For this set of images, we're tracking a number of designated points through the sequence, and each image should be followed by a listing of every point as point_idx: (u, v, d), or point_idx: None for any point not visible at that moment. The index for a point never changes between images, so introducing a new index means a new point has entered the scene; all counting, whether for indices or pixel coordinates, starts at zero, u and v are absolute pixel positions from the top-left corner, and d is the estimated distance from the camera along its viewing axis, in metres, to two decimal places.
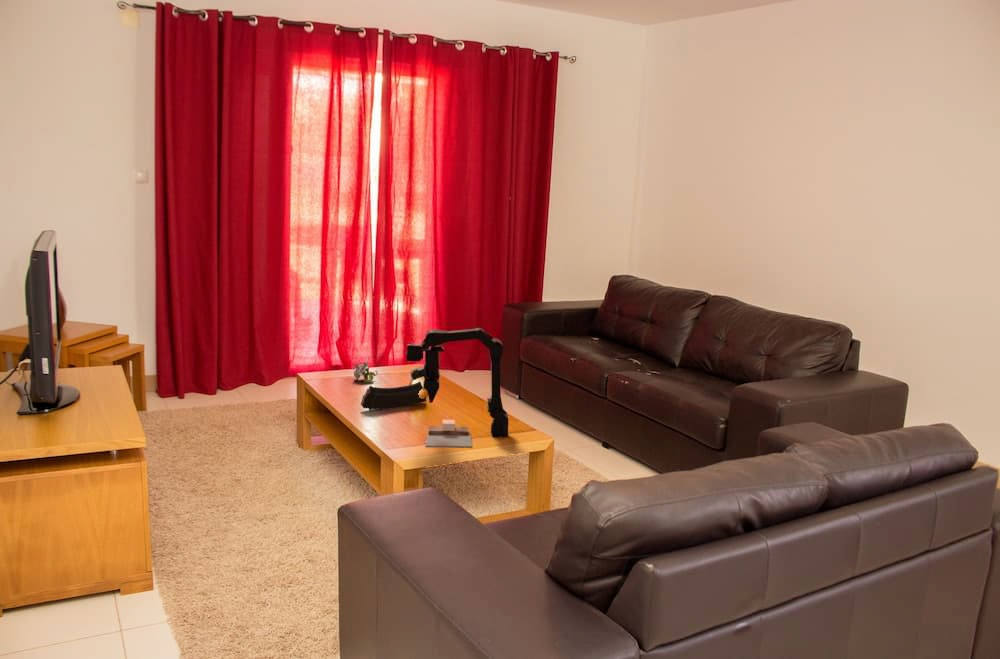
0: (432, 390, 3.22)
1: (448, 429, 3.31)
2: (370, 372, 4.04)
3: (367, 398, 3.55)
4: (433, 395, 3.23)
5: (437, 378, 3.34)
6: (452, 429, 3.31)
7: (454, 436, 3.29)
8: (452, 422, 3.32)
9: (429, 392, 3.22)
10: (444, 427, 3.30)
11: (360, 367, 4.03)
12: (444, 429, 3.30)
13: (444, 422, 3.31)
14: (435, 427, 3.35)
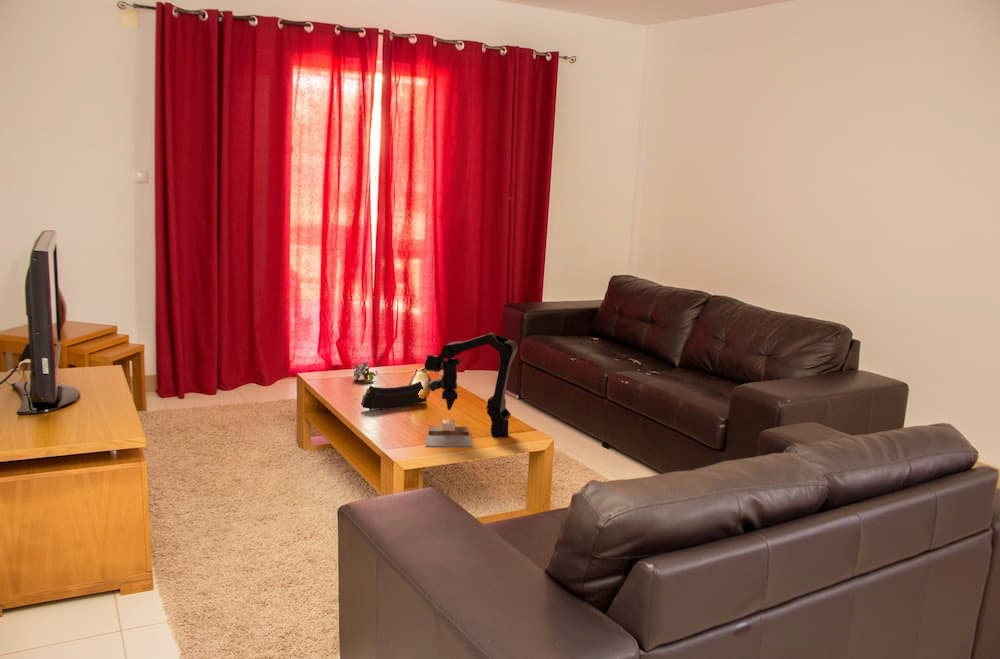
0: None
1: (448, 429, 3.31)
2: (370, 372, 4.04)
3: (367, 398, 3.56)
4: (451, 403, 3.38)
5: None
6: (452, 429, 3.31)
7: (454, 436, 3.29)
8: (452, 422, 3.32)
9: (447, 400, 3.37)
10: (444, 427, 3.30)
11: (360, 367, 4.03)
12: (444, 429, 3.30)
13: (444, 422, 3.31)
14: (435, 427, 3.35)
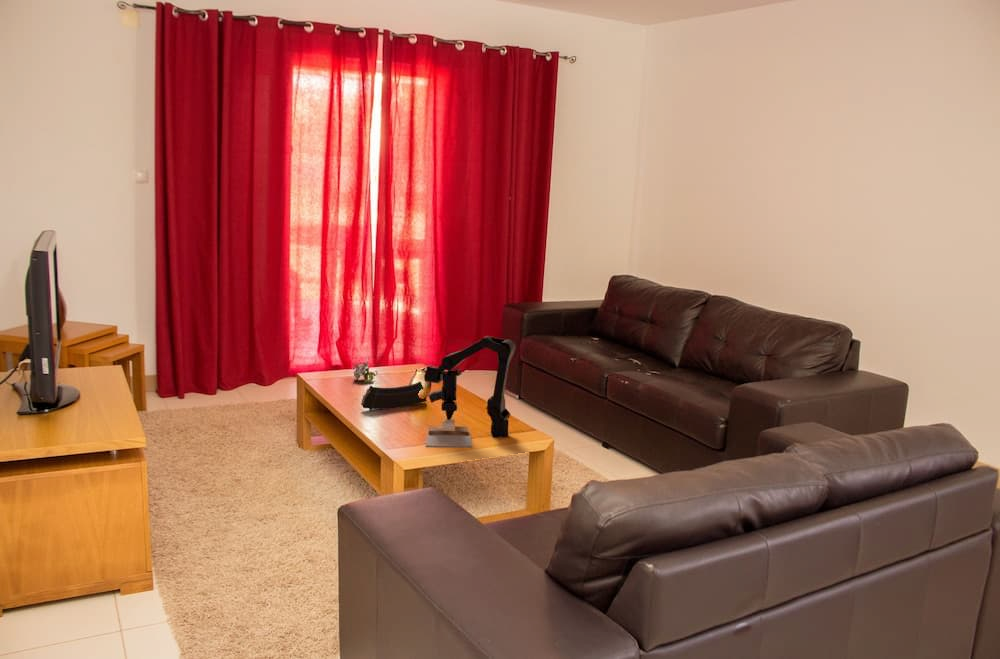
0: None
1: (448, 429, 3.31)
2: (370, 372, 4.04)
3: (367, 398, 3.56)
4: (451, 414, 3.38)
5: None
6: (452, 429, 3.31)
7: (454, 436, 3.29)
8: (452, 422, 3.32)
9: (447, 411, 3.37)
10: (444, 427, 3.30)
11: (360, 367, 4.03)
12: (444, 429, 3.30)
13: (444, 422, 3.31)
14: (435, 427, 3.35)
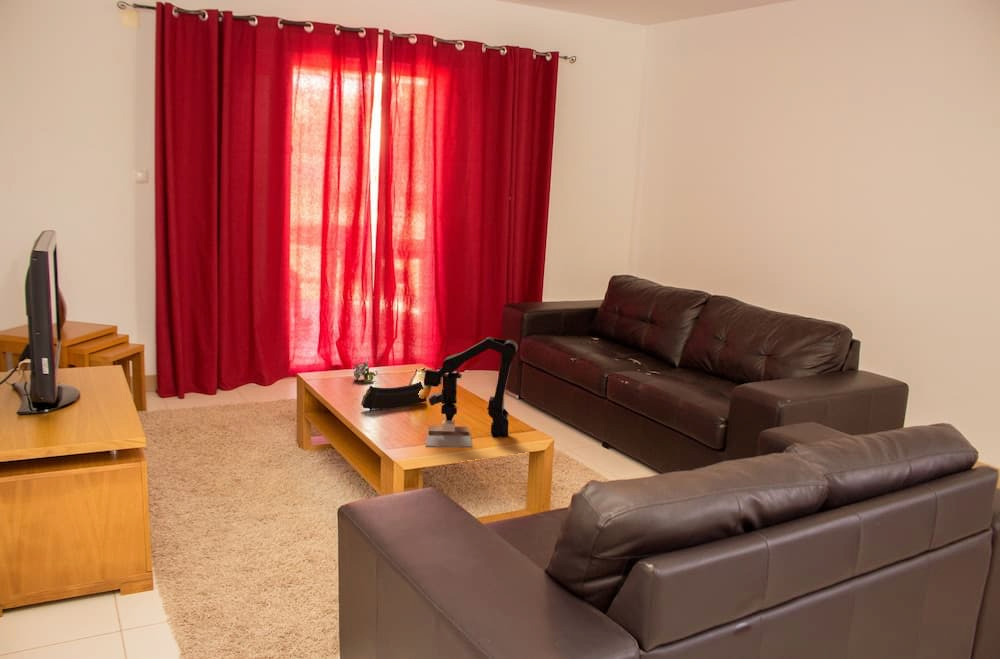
0: None
1: (448, 430, 3.30)
2: (370, 372, 4.04)
3: (367, 398, 3.56)
4: (451, 417, 3.34)
5: None
6: (452, 430, 3.30)
7: (454, 436, 3.29)
8: (452, 422, 3.31)
9: (447, 414, 3.33)
10: (444, 428, 3.29)
11: (360, 367, 4.03)
12: (444, 430, 3.30)
13: (444, 423, 3.31)
14: (435, 427, 3.35)
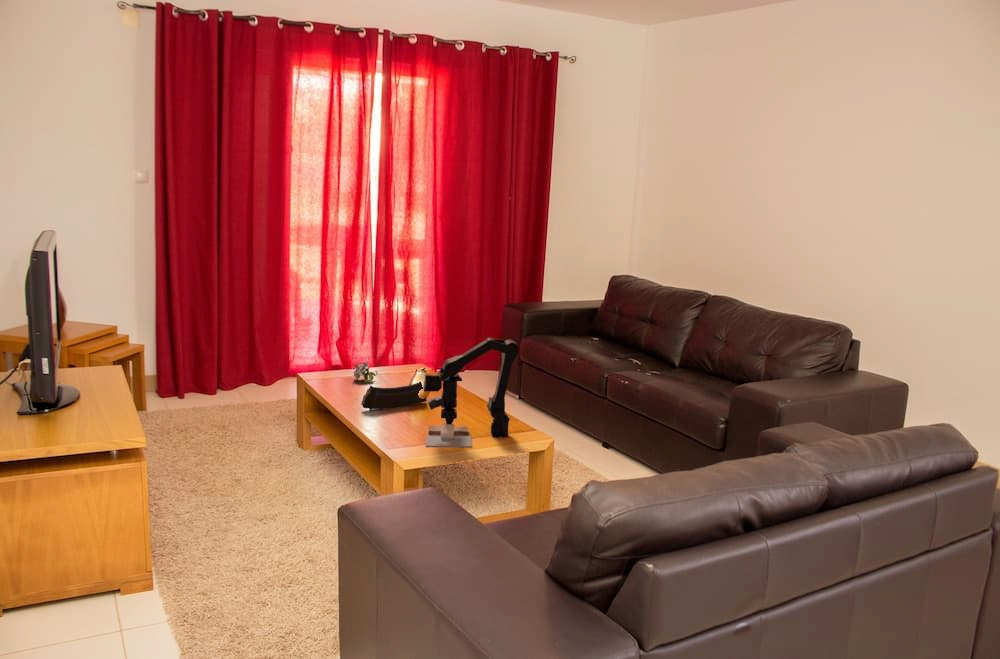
0: None
1: (446, 437, 3.26)
2: (370, 372, 4.04)
3: (367, 398, 3.56)
4: (451, 421, 3.28)
5: (454, 410, 3.30)
6: (450, 437, 3.26)
7: (454, 436, 3.29)
8: (451, 429, 3.26)
9: (447, 418, 3.27)
10: (442, 435, 3.25)
11: (360, 367, 4.03)
12: (442, 437, 3.26)
13: (442, 430, 3.25)
14: (435, 427, 3.35)
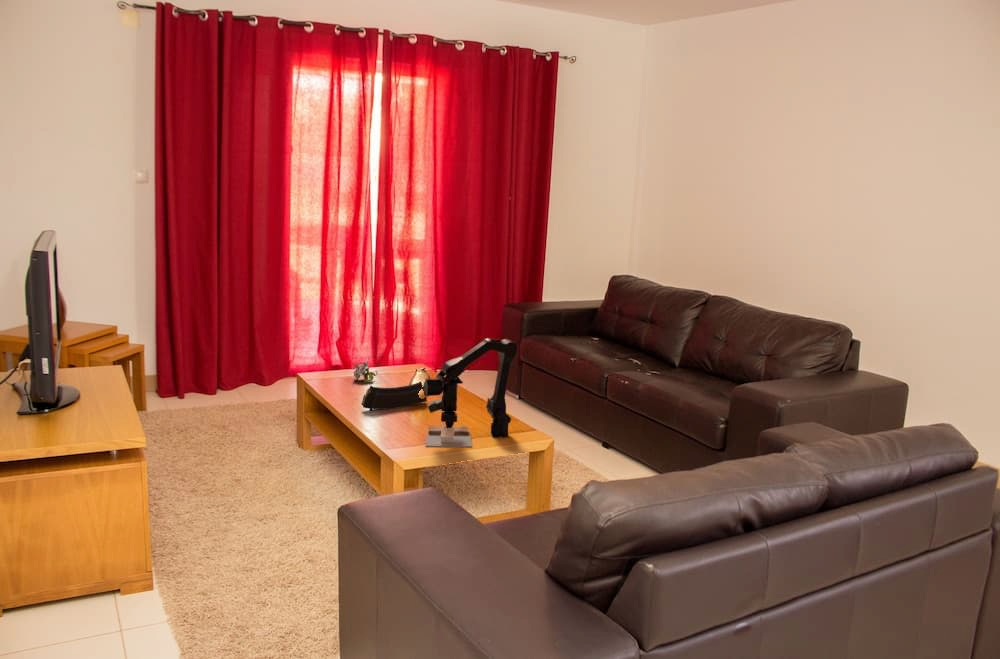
0: None
1: (446, 441, 3.21)
2: (370, 372, 4.04)
3: (368, 398, 3.56)
4: (451, 425, 3.24)
5: None
6: (450, 441, 3.21)
7: (454, 436, 3.29)
8: (451, 433, 3.21)
9: (447, 422, 3.23)
10: (442, 439, 3.21)
11: (360, 367, 4.03)
12: (442, 441, 3.21)
13: (442, 434, 3.21)
14: (435, 427, 3.35)
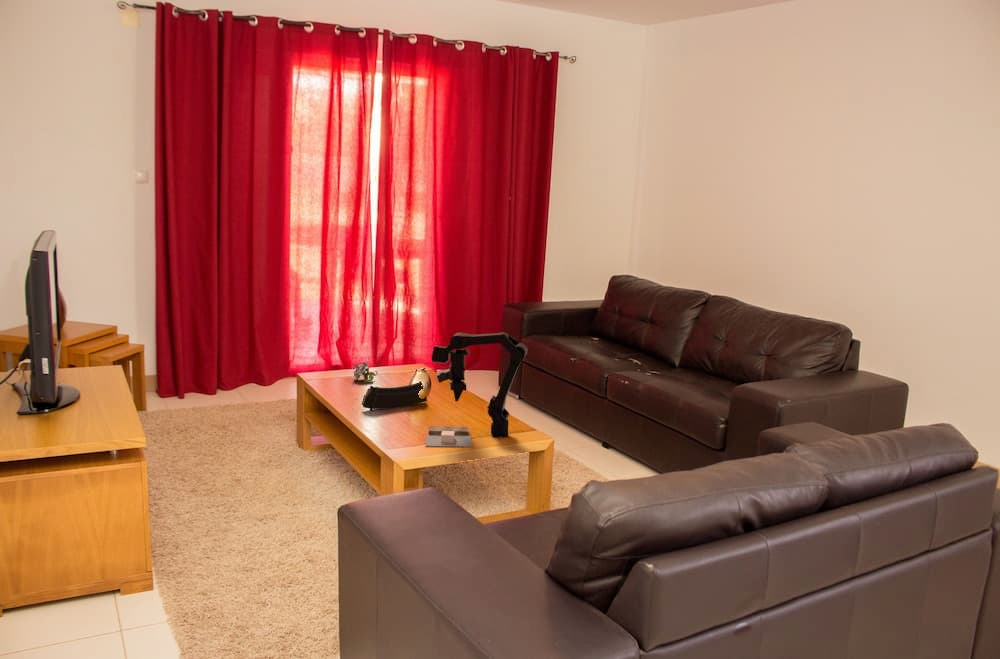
0: None
1: (446, 441, 3.21)
2: (370, 372, 4.04)
3: (368, 398, 3.56)
4: (459, 394, 3.33)
5: None
6: (451, 441, 3.21)
7: None
8: (451, 433, 3.23)
9: (455, 391, 3.32)
10: (442, 439, 3.21)
11: (360, 367, 4.03)
12: (442, 441, 3.21)
13: (443, 433, 3.22)
14: (435, 427, 3.35)
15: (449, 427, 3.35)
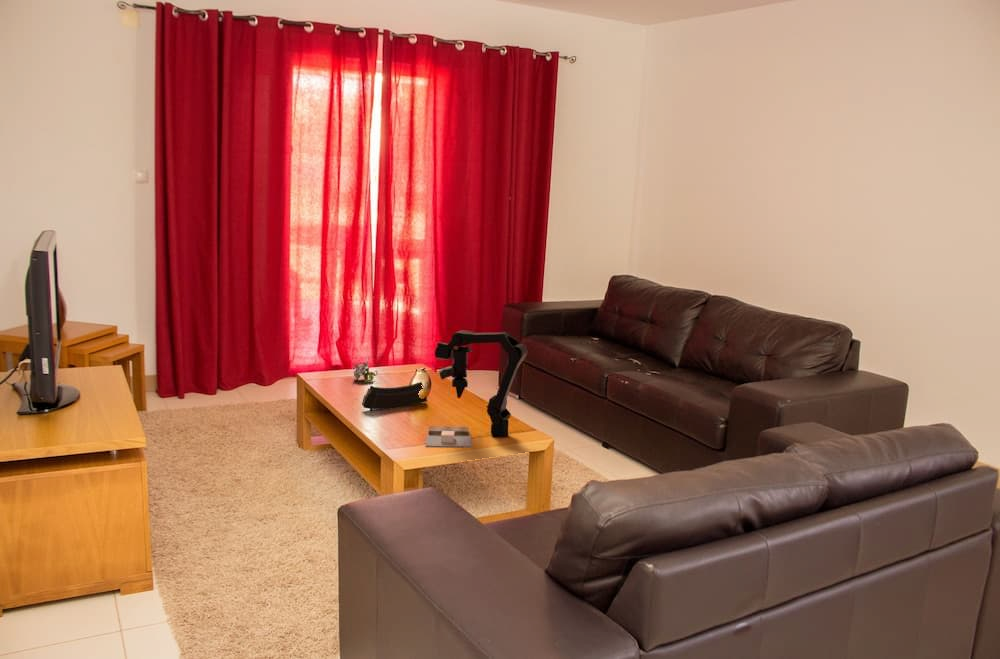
0: None
1: (446, 441, 3.21)
2: (370, 372, 4.04)
3: (368, 398, 3.56)
4: (461, 391, 3.36)
5: None
6: (451, 441, 3.21)
7: None
8: (451, 433, 3.23)
9: (457, 388, 3.35)
10: (442, 439, 3.21)
11: (360, 367, 4.03)
12: (442, 441, 3.21)
13: (443, 433, 3.22)
14: (435, 427, 3.35)
15: (449, 427, 3.35)
